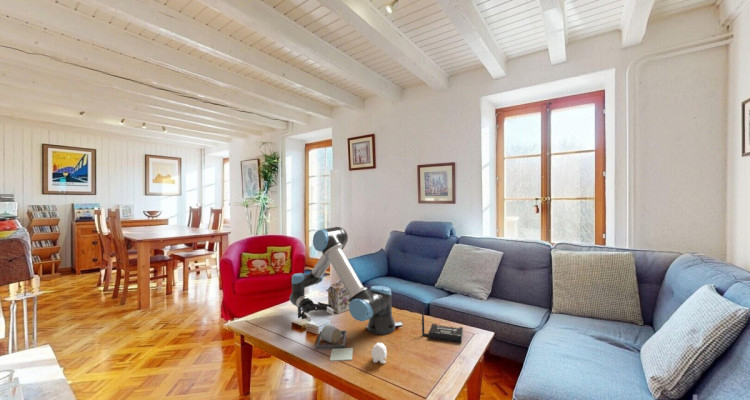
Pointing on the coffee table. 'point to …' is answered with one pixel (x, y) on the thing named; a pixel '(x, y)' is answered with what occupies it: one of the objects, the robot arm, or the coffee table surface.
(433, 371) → the coffee table surface
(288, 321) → the coffee table surface
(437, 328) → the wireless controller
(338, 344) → the square frame
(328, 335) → the ceramic mug
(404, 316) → the coffee table surface
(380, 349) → the white figurine
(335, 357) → the grey-green mat
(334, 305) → the decorative jar
